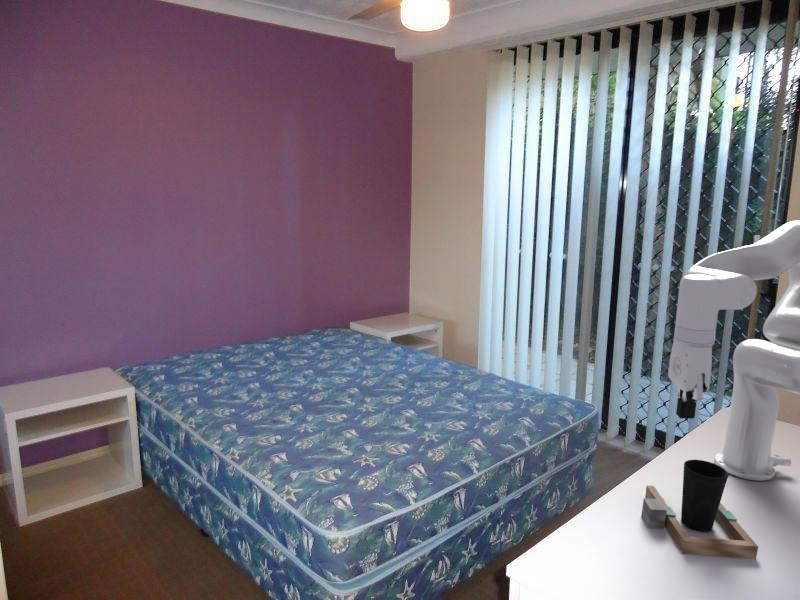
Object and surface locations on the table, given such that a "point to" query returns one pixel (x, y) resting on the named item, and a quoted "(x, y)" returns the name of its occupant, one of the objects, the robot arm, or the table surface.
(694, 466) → the cup
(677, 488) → the table surface
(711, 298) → the robot arm
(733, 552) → the beam slot
